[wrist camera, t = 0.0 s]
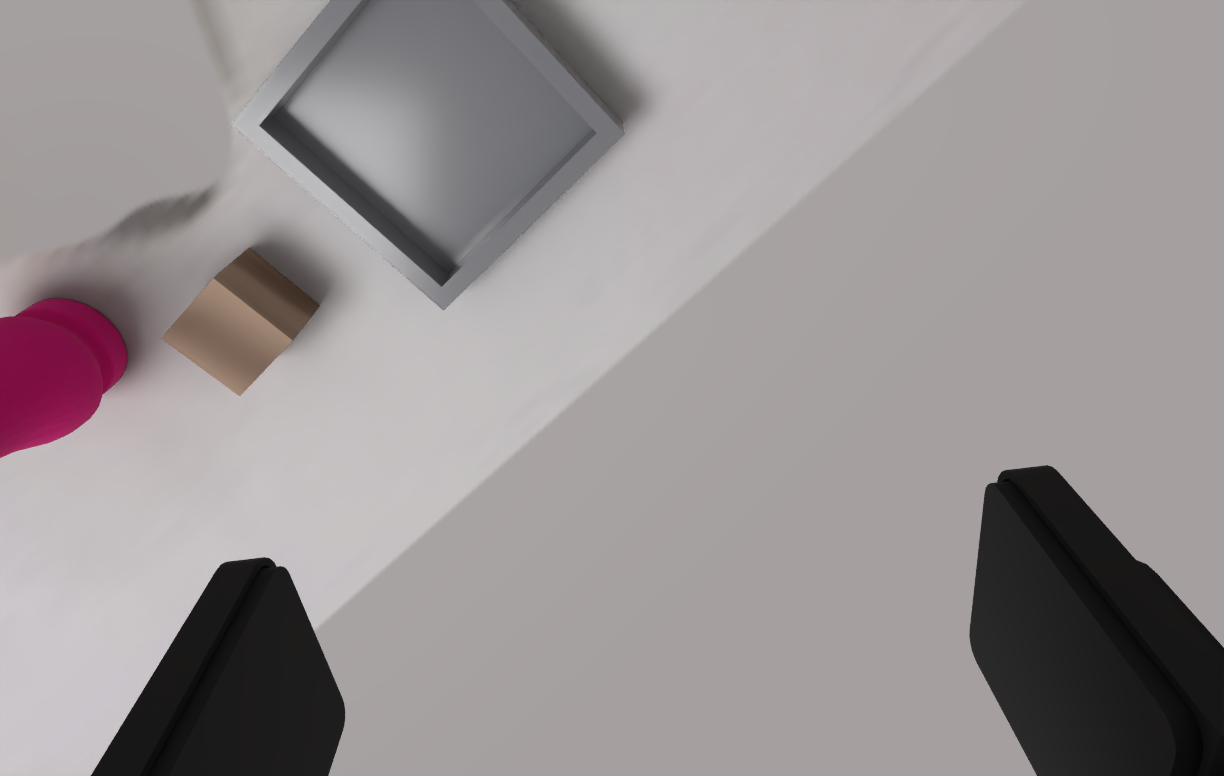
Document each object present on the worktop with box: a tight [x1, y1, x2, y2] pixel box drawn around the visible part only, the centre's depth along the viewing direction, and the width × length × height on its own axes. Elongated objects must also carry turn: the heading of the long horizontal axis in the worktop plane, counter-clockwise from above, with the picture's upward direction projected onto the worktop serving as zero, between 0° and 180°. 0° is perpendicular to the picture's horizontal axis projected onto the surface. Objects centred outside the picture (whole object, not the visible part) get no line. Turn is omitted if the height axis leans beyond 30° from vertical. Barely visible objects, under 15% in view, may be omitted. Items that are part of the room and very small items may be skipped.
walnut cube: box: [161, 248, 320, 396], centre depth 46 cm, size 5×5×5 cm
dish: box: [231, 0, 625, 310], centre depth 42 cm, size 14×14×3 cm
